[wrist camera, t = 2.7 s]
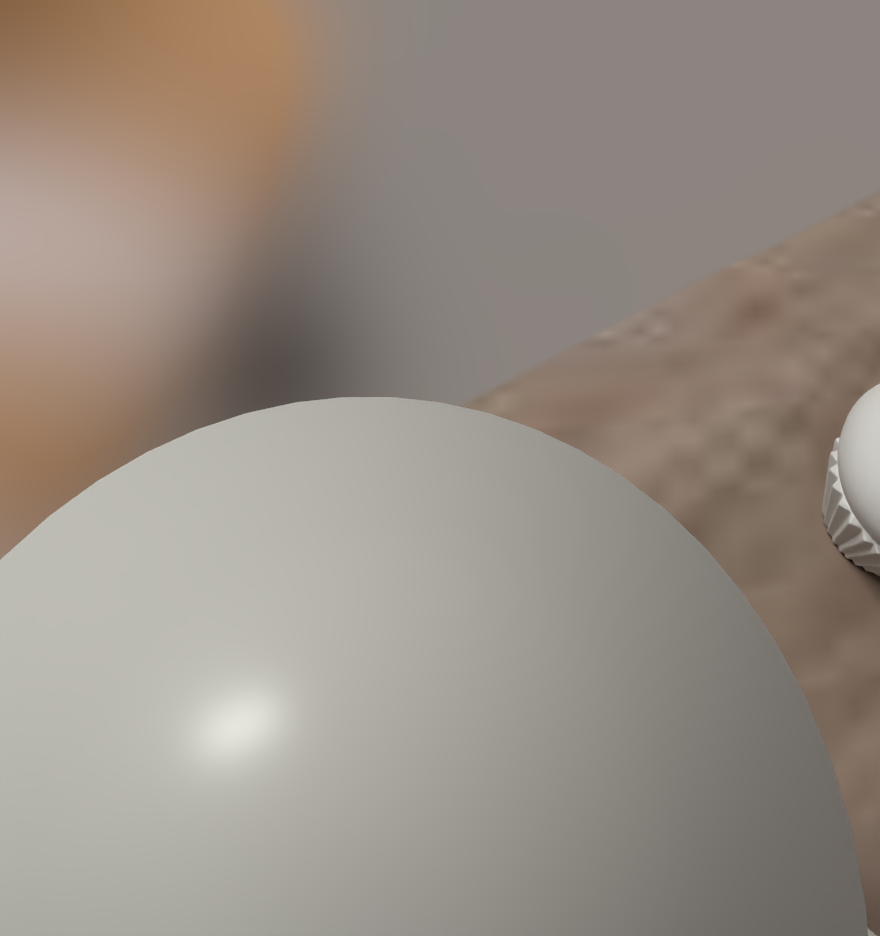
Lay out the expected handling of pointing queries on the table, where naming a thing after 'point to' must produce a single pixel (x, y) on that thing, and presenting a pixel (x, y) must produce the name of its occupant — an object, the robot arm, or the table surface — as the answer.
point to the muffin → (856, 485)
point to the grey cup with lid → (399, 700)
